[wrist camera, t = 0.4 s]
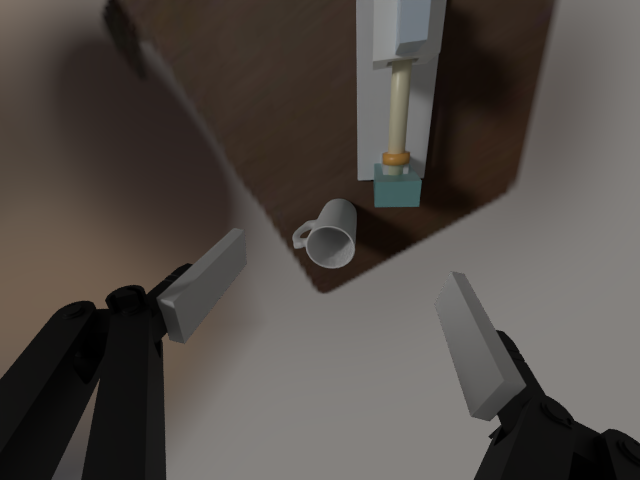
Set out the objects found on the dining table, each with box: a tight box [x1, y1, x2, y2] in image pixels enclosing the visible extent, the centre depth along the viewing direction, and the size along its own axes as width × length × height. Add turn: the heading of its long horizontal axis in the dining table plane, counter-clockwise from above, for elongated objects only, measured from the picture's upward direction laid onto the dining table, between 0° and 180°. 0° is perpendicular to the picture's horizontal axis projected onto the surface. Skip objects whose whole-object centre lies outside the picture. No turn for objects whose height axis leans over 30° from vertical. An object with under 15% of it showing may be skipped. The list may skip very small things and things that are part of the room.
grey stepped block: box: [372, 0, 447, 70], centre depth 22 cm, size 5×6×10 cm
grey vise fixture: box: [356, 0, 439, 207], centre depth 28 cm, size 22×10×12 cm, turn 5°
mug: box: [293, 199, 357, 268], centre depth 38 cm, size 10×7×12 cm, turn 99°
